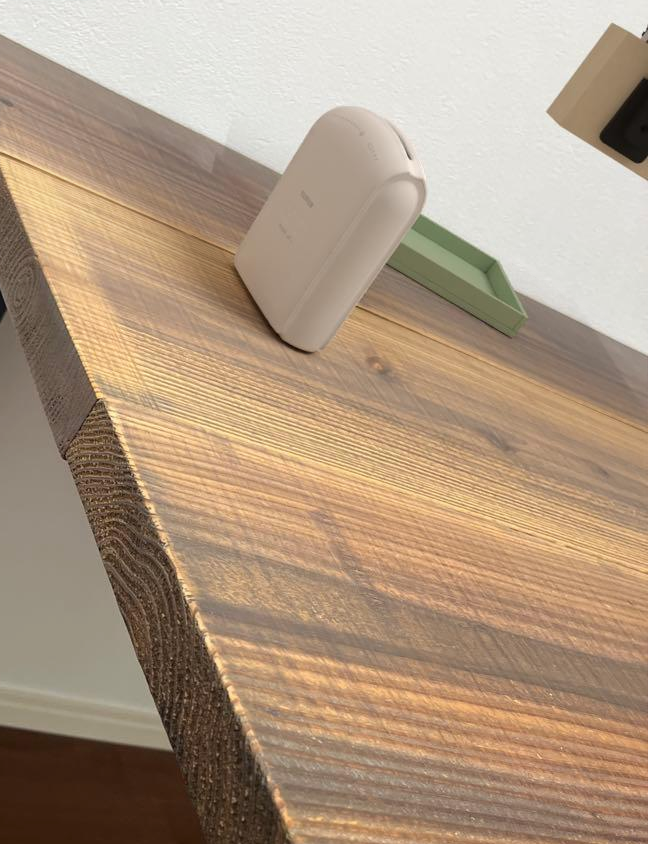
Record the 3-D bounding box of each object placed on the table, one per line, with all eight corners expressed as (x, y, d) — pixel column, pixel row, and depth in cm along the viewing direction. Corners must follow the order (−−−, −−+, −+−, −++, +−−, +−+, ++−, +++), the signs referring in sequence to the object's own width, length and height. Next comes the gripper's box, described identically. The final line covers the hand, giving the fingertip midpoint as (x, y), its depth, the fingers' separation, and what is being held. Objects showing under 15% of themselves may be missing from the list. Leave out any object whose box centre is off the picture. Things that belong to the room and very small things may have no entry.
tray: (485, 279, 101) (499, 261, 100) (512, 338, 89) (529, 318, 87) (364, 206, 99) (378, 187, 98) (375, 257, 87) (390, 235, 85)
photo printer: (221, 255, 67) (331, 75, 61) (273, 277, 69) (385, 105, 63) (271, 342, 60) (401, 148, 53) (327, 363, 62) (461, 179, 55)
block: (545, 111, 68) (611, 22, 64) (643, 173, 69) (713, 88, 66) (558, 125, 64) (629, 31, 61) (661, 189, 66) (735, 101, 62)
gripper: (987, -123, 50) (697, 209, 60) (835, -130, 64) (619, 141, 74) (868, -210, 49) (593, 144, 59) (739, -198, 63) (534, 87, 73)
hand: (610, 139), depth 66 cm, fingers closed on block, 4 cm apart
